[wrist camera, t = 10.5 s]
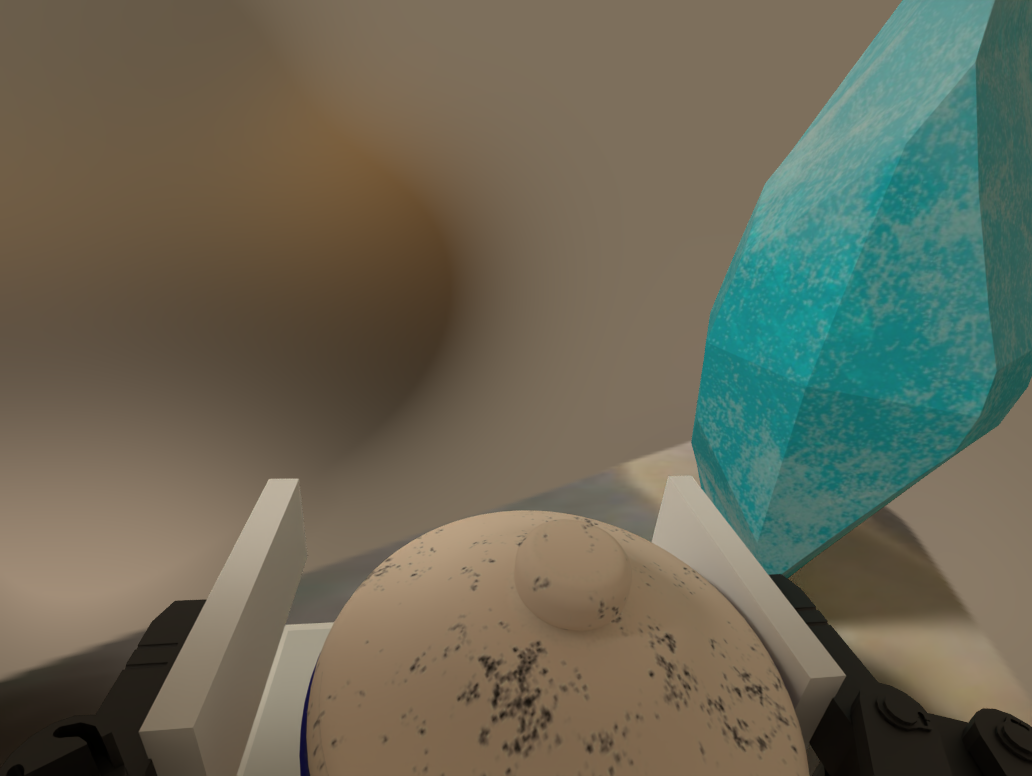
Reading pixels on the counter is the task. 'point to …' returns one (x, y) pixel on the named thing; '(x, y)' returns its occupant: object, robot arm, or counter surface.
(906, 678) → the counter surface
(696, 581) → the teacup with lid
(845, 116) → the crystal
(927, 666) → the counter surface
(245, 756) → the plinth
